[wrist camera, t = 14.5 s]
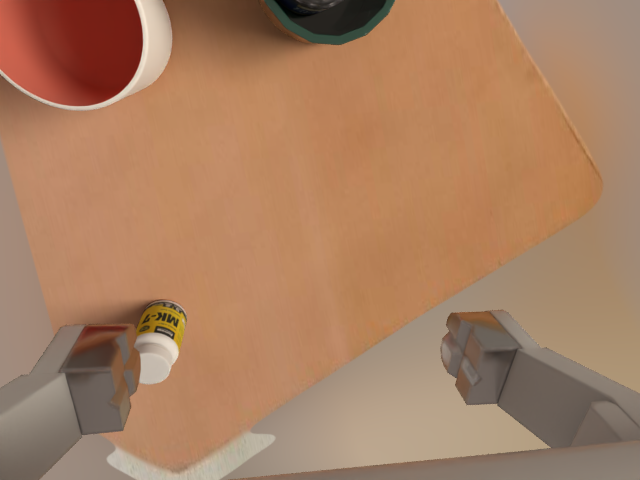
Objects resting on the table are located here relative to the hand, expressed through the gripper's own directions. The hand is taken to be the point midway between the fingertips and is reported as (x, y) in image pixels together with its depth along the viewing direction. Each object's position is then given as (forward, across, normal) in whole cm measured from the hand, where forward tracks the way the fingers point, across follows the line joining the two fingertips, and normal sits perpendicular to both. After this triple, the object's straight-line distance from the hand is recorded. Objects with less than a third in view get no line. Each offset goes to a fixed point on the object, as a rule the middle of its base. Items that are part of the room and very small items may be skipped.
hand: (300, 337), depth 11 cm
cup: (+31, +13, -7) cm, 34 cm away
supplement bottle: (+31, +11, +22) cm, 40 cm away
